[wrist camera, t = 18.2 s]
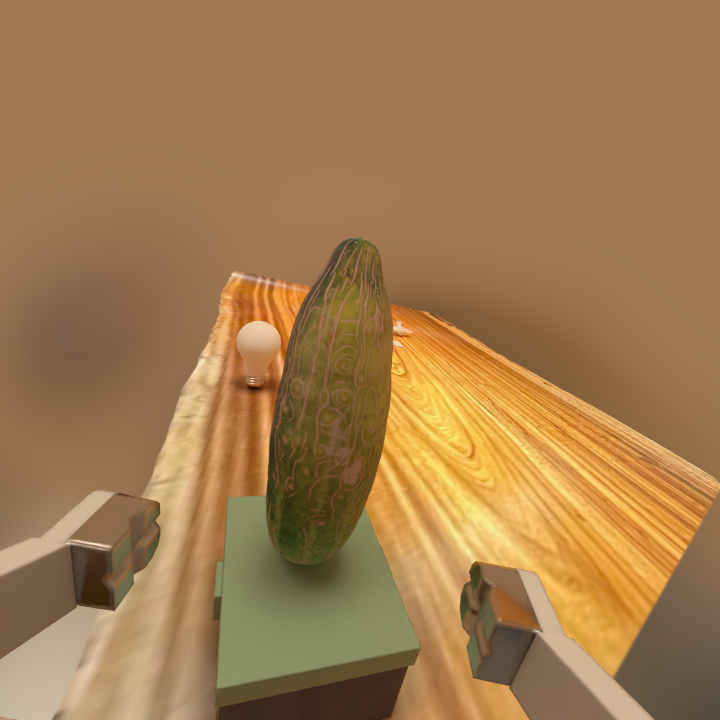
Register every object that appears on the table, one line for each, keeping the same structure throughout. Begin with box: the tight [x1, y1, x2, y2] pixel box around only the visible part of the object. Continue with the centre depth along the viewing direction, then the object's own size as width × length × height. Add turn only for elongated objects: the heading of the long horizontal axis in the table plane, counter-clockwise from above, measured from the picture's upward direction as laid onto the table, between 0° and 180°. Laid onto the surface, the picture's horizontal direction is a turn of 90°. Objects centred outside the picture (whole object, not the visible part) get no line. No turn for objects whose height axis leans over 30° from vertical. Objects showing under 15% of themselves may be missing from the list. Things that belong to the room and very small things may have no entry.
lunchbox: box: [212, 496, 420, 720], centre depth 25 cm, size 12×11×6 cm
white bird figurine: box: [393, 321, 412, 336], centre depth 108 cm, size 8×5×5 cm, turn 101°
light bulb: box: [237, 321, 281, 388], centre depth 58 cm, size 7×7×11 cm
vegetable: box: [266, 238, 393, 565], centre depth 20 cm, size 6×6×20 cm
